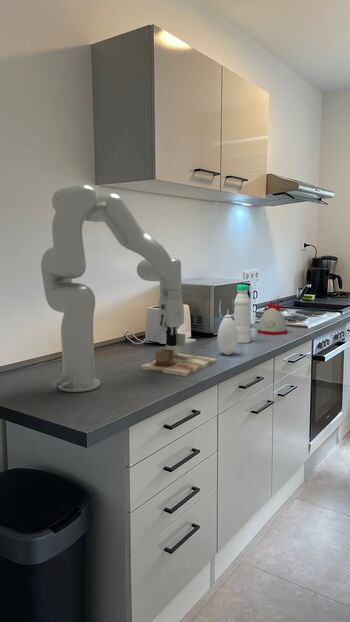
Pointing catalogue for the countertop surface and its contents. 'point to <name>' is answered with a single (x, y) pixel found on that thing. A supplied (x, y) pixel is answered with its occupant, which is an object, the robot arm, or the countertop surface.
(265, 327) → the kitchen timer
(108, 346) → the countertop surface
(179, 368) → the puzzle board
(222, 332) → the sauce bottle
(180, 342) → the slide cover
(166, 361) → the walnut block
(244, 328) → the water bottle
